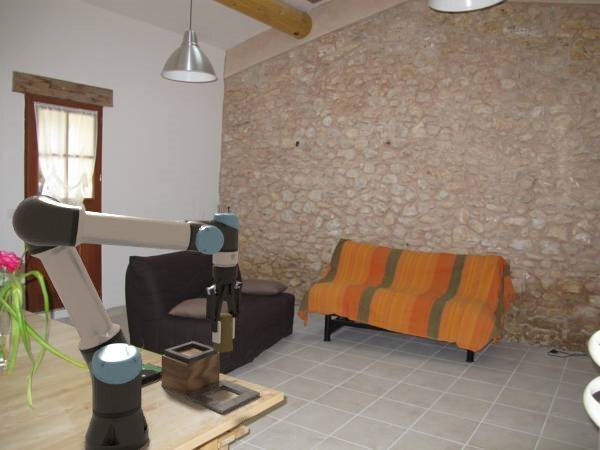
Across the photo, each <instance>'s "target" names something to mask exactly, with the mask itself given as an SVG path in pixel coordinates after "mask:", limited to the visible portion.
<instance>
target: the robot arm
mask: <svg viewBox="0 0 600 450" xmlns="http://www.w3.org/2000/svg"><path fill="white" fill-rule="evenodd" d="M11 224H12V228H13V231H14V233H15V235H16V236H17V237H18V238H19V239H20V240H21V241H23V242H24V245H25V247H26V248H27V250H28V252H29V254H30V256H31V257H34V258H36V259H39V260H40V261H41V264H42V265H43V268H44V269H45V271H46V273H47V275H48V277H49V279H50V281H51V283H52V286H53V287H54V288H55V290H56V293H57V294H58V297H59V298H60V300H61V303H62V304H63V306H64V308H65V310H66V312H67V314H68V316H69V318H70V320H71V322H72V324H73V326H74V328H75V330H76V332H77V334H78V336H79V338H80V339H79V342H78V344H77V348H78V350H79V352H80V354H81V356H82V358H83V360H84V362H85V364H86V366H87V369H88V370H89V375H90V379H91V387H92V388H91V389H92V390H91V391H92V393H91V395H92V396H91V397H92V398H91V400H92V403H91V404H92V414H91V418H90V421H89V424H88V427H87V429H86V430H87V431H86V433H85V436H84V447H85V449H86V450H139V449H141V448H142V447H143V446H144V445H146V444H147V442H148V440H149V435H150V434H149V425H148V423H147V420H146V415H145V414H144V412H143V408H142V406H143V405H142V401H143V400H142V395H143V394H142V386H143V385H142V365H143V359H142V352H141V351H140V349H138V347H136V346H135V345H131V344H130V342H129V341H128V339H127V338H126V335H125V334H124V332H123V330H122V328H121V325H120V324H117V323H114V322H112V320H111V318H110V316H109V314H108V312H107V310H106V307H105V306H104V303H103V301H102V300H101V298H100V296H99V294H98V290H97V289H96V287H95V286H94V283H93V281H92V279H91V277H90V275H89V273H88V271H87V269H86V268H87V267H85V264H84V263H83V260H82V258H81V256H80V254H79V253H78V252H79V251H78V250H77V248H76V247H78V246H80V244H91V245H93V244H94V245H102V246H103V245H104V246H105V245H106V246H118V247H131V248H132V247H133V248H143V249H144V248H146V249H159V250H161V249H162V250H173V251H186V252H194V253H195V252H197V253H201V254H202V255H212V264H213V265H212V278H213V283H212V285H211V286H210V287H206V288H205V293H206V304H205V306H206V307H205V320H207V321H209V322H211V325H210V327H211V329H210V330H211V333H212V335H211V336H212V338H211V339H212V340H211V341H212V343H214V342H215V343H218V344H219V343H220V341H221V322H220V321H219V317H220V313H222V307H223V303H224V300H226V305H227V313H229V314H231V315H232V318H233V321H232V323H231V333H232V340H234V339H235V331H236V329H235V328H236V325H237V318H239V317H240V314H241V313H242V289H243V286H244V283H243V282H240V281H237V278H238V275H239V274H238V272H239V267H238V265H237V264H238V263H239V233H240V221H239V216H238V215H237V214H235V213H227V212H224V213H223V212H220V213H214V214H213V218H212V219H209V220H202V219H201V220H198V219H195V220H191V219H190V220H189V219H188V220H187V219H183V220H182V219H181V220H170V219H169V220H168V219H160V218H158V219H157V218H149V217H141V216H140V217H139V216H130V215H121V214H114V213H113V214H112V213H104V212H103V213H102V212H94V211H87V210H86V211H85V210H84V208H83V207H82V206H79V205H69V204H67V203H66V204H65V203H61V202H60V201H59V200H58V199H56V198H54V197H52V196H49V195H46V194H35V195H31V196H29V197H27V198H24V199H23V200H22V201H21V202H20V203H19V204H18V205H17V207H16V208H15V209H14V212H13V214H12V221H11Z"/></svg>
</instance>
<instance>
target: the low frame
mask: <svg viewBox="0 0 600 450" xmlns="http://www.w3.org/2000/svg"><path fill="white" fill-rule="evenodd" d="M222 389H225V390H227V391H228V392H229V391H230V392H232V393H234V394H237V396H235V397H233V398H230V399H228V400H226V401H224V402H221V401H219V400H217V399H214V398H212V397H209V396H210V395H211V394H213V393H216V392H218V391H220V390H222ZM260 395H261V392H260V391H257V390H255V389H251V388H250V387H249V388H248V387H246V386H243V385H241V384H238V383H235V382H233V381H229V380H228V379H226V378H225V379H224V378H222V379H219V381H218V382H215V383H213V384H211V385H208V386H206V387H203V388H201V389H199V390H196V391H194V392H192V393H189V394H187V395H186V396H185V399H186V400H188V401H191V402H194V403H195V404H197V405H201V406H202V407H205V408H207V409H209V410H212V411H214V412H217V414H218V413H219V414H221V415H224V414H226V413H228V412H230V411H232V410H234V409H237V408H238V407H240V406H242V405H244V404H246V403H249V402H250V401H252V400H254V399H256V398H258V397H260Z"/></svg>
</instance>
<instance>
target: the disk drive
mask: <svg viewBox="0 0 600 450" xmlns="http://www.w3.org/2000/svg"><path fill="white" fill-rule="evenodd" d="M159 379H162V366H159V365H155V364H152V363H150V362H148V363H145V364H144V363H142V386H144V385H147V384H148V383H151V381H152V382H154V381H157V380H159Z"/></svg>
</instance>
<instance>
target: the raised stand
mask: <svg viewBox="0 0 600 450" xmlns="http://www.w3.org/2000/svg"><path fill="white" fill-rule="evenodd" d="M213 348H214V346H213V347H212V346H211V345H207V344H203V343H200V342H198V341H194V340H191V341H189V342H185V343H183V344H178V345H176V346H173V347H168V348H167V349H164V350H163V354H161V367H162V378H161V386H162V387H165V388H167V389H169V390H171V391H174V392H175V393H178V394H181V395H182V396H185V397H186V395H187V394H189V393H192V392H194V391H196V390H199V389H201V388H203V387H206V386H208V385H211V384H213V383H215V382H218V381H220V362H221V361H220V359H221V358H220V357H221V354H220V353H221V352H217V351H214V350H213Z"/></svg>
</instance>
